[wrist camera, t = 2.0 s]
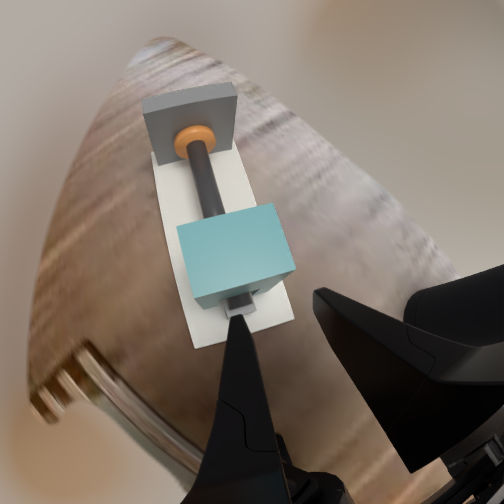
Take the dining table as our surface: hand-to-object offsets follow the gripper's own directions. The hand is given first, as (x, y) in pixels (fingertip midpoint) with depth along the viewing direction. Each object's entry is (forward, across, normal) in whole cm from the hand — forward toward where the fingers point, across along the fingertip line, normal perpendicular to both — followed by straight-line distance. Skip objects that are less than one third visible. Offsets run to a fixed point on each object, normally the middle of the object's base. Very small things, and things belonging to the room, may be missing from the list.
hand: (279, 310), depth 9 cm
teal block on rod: (+10, 0, +5) cm, 12 cm away
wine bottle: (+5, -18, +14) cm, 23 cm away
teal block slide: (+15, 0, +4) cm, 15 cm away
